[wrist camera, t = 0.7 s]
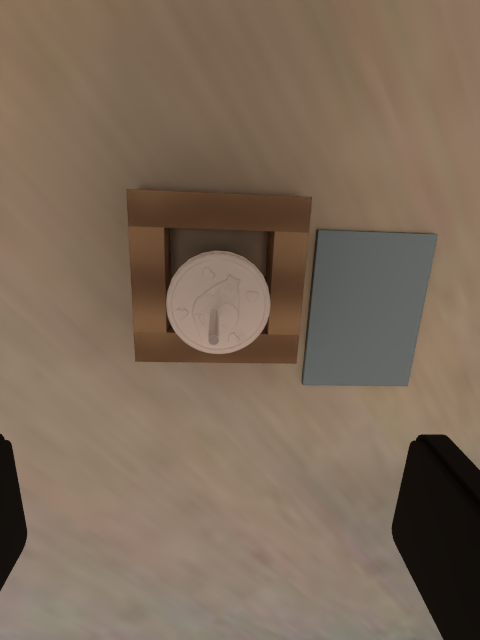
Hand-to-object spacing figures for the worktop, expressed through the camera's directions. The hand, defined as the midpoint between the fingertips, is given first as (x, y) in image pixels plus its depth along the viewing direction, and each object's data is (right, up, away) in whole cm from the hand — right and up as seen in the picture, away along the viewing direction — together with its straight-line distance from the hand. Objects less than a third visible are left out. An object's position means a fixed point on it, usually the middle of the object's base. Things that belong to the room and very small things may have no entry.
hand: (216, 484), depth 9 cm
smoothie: (-1, +8, +23) cm, 24 cm away
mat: (+12, +5, +24) cm, 28 cm away
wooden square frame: (-1, +8, +23) cm, 24 cm away
